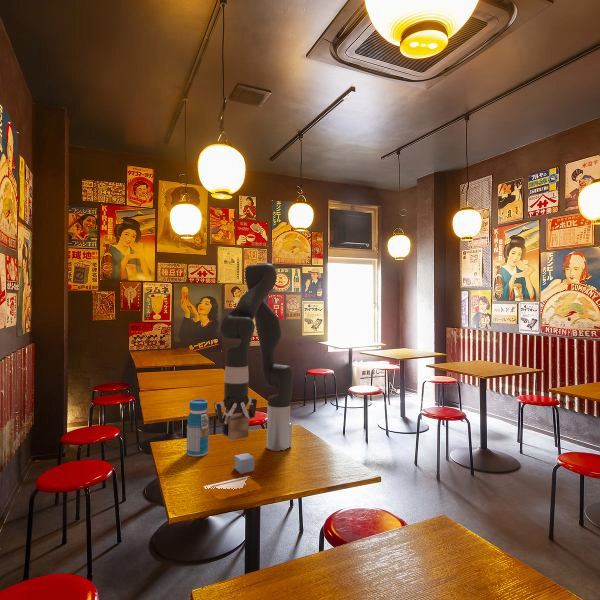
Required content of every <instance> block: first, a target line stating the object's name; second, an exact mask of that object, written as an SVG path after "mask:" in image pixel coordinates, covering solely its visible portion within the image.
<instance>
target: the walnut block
mask: <svg viewBox="0 0 600 600" xmlns="http://www.w3.org/2000/svg"><path fill="white" fill-rule="evenodd" d="M227 424H228V436H225V435H224V434H223V433H222V436H224V437H225V438H226V439H228V440H230V441H233V440H234V441H235V440H240V439H245V438H249V429H250V420H249V418H248V417H245V416H244V415H242V414H241V413H234V414H232V416H231V417H230V419H229V421H228V423H227Z"/></svg>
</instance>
